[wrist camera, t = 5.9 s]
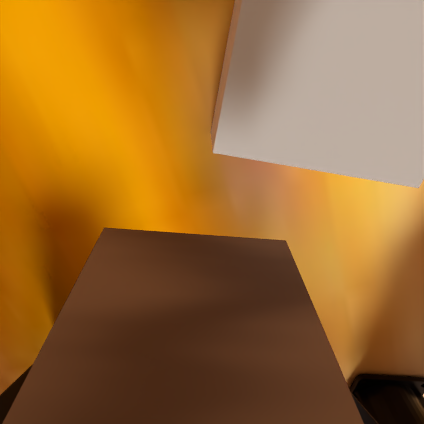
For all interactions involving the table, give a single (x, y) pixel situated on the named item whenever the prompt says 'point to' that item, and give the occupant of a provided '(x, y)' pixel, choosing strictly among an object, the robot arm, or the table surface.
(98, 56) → the table surface
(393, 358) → the table surface
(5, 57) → the table surface
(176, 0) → the table surface
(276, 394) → the grey cube
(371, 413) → the robot arm
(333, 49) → the grey block
